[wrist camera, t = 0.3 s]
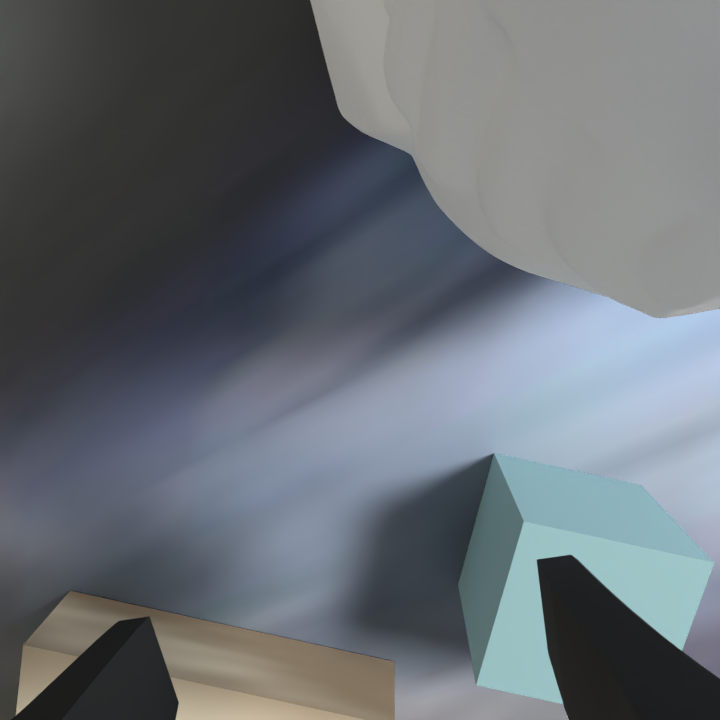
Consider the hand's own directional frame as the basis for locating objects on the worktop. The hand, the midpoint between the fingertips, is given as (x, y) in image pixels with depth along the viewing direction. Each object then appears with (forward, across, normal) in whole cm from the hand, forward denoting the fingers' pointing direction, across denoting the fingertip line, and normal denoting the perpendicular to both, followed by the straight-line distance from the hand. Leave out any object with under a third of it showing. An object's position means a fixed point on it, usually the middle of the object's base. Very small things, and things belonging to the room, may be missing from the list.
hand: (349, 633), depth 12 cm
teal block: (+10, -6, +5) cm, 12 cm away
